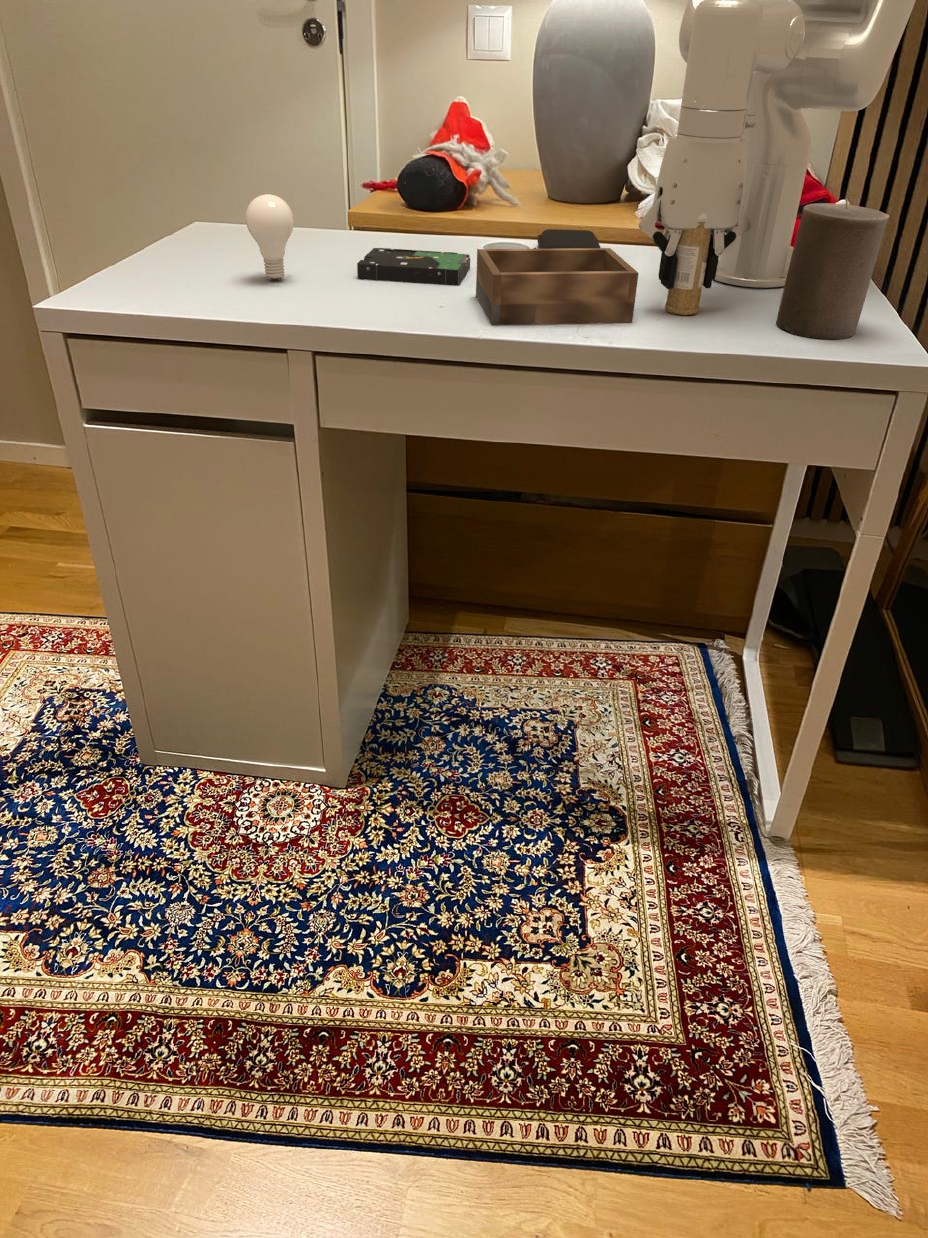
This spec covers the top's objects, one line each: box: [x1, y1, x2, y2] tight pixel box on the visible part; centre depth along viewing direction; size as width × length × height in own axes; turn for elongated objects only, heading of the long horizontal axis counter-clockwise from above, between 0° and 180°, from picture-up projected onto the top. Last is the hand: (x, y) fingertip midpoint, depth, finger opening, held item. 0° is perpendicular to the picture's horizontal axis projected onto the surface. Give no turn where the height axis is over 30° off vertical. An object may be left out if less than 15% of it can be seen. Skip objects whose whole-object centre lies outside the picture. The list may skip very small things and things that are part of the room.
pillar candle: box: [775, 198, 890, 340], centre depth 109 cm, size 10×10×15 cm
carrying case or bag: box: [533, 228, 602, 249], centre depth 141 cm, size 11×3×15 cm
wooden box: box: [475, 247, 639, 326], centre depth 115 cm, size 18×13×6 cm
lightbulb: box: [245, 193, 295, 282], centre depth 122 cm, size 6×6×11 cm
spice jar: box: [664, 213, 711, 316], centre depth 114 cm, size 5×5×13 cm
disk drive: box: [356, 247, 471, 287], centre depth 130 cm, size 10×3×15 cm
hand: (685, 284), depth 116 cm, fingers closed on spice jar, 4 cm apart
